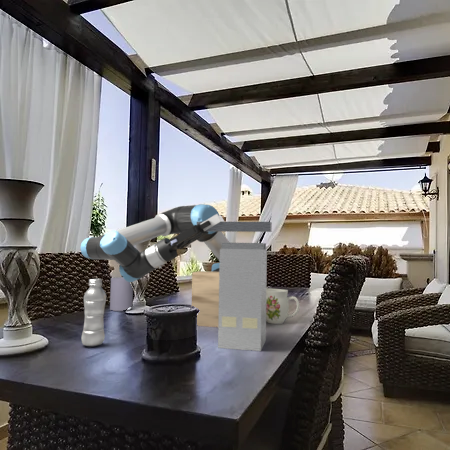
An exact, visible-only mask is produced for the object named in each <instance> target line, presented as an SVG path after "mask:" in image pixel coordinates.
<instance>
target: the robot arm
mask: <svg viewBox="0 0 450 450" xmlns="http://www.w3.org/2000/svg"><path fill="white" fill-rule="evenodd" d="M197 222H202V223H201V224H198V225H197ZM219 222H226V221H225V220H224V218H223V216H222V215H221V214H220V213H219V211H218V209H216V208H215V207H214V206H213V205H212V204H211V205H210V204H204V203H203V204H202V203H200V204H192V205H180V206H177V207H176V206H175V207H174V208H171V209H168V210H165V211H163V212H160V213H158V214H156V215H155V217H154V218H153V217H152V218H150V219H147V220H143V221H141V222H138V223H135V224H132V225H129V226H126V227H123V228H120V229H118V230H111V231H110V232H107V233H106V234H102V235H98V236H96V237H95V236H90V237H87V238H85V239H84V240H83V241H81V243H80V253H81V254H82V256H83V257H84V258H86V259H91V260H107V261H108V260H109V261H115V262H116V263H117V264H118V265H119V267H118V269H119V274H120V275H121V277H123V278H124V279H125V280H126V281H127V282H133V283H134V282H135V281H137V280H139V279H140V280H141V279H142V278H143V277H145V276H146V275H148V274H150V273H151V272H153V271H154V270H156V269H161V268H162V266H163V265H165V264H167V262H170V261H172V260H174V259H176V258H177V257H178V252H177V251H178V250H182V249H184V248H185V247H188V246H189V245H190V244H192V243H194V242H195V241H198V242H200V243H204V244H205V245H206V247H207V248H209V250H210V251H211V252H212V253H213V255H214V256H215V257H216V258H217V259H218V261H219V262H217V263H216V262H215V263H213V264H212V265H211V271H210V272H219V267H220V249H222V242H223V243H231V242H230V240H228V238H227V237H226V235H225V234H224V232H223V231H206V230H207V229H209V228H211V227H213V226H214V225H216V224H218V223H219ZM203 230H204V231H203ZM170 235H175V236H174V237H170V238H168V236H170ZM160 236H162V237H164V238H162V239H161V240H159V241H158V242H156V243H153V244H152V245H150V246H149V247H147V248H146V249H144V250H143V251H139V249H137V248H136V247H135V246H137V245H139V244H142V243H144V242H147V241H150V240H153V239H155V238H157V237H160Z"/></svg>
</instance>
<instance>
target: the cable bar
mask: <svg viewBox="0 0 450 450" xmlns="http://www.w3.org/2000/svg"><path fill="white" fill-rule="evenodd" d="M201 223H202V222H197V225H198V224H201ZM272 229H273V228H272V221H225V222H219V223H218V224H216V225H214V226H213V227H211V228H209V229H207V230H206V231H221V232H223V233H224V232H230V233H231V232H234V233H235V232H236V233H238V232H240V233H241V232H246V233H250V232H251V233H269V232H270V233H272V232H273V231H272ZM203 231H204V230H203Z"/></svg>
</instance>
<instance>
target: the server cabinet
mask: <svg viewBox="0 0 450 450" xmlns="http://www.w3.org/2000/svg"><path fill="white" fill-rule="evenodd" d="M267 255H268V249H267V243H264V242H230V243H223V242H222V249H220V261H219V263H220V267H219V322H218V327H217V329H218V330H217V331H218V333H217V335H218V336H217V337H218V338H217V340H218V341H217V348H218V349H226V350H227V349H228V350H239V351H241V350H242V351H251V350H252V351H254V352H256V351H257V352H262V349H263V347H264V346H265V343H266V341H267V321H266V288H267V280H268V279H267V273H268V272H267V266H268V264H267V261H268V257H267ZM252 351H251V352H252Z"/></svg>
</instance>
